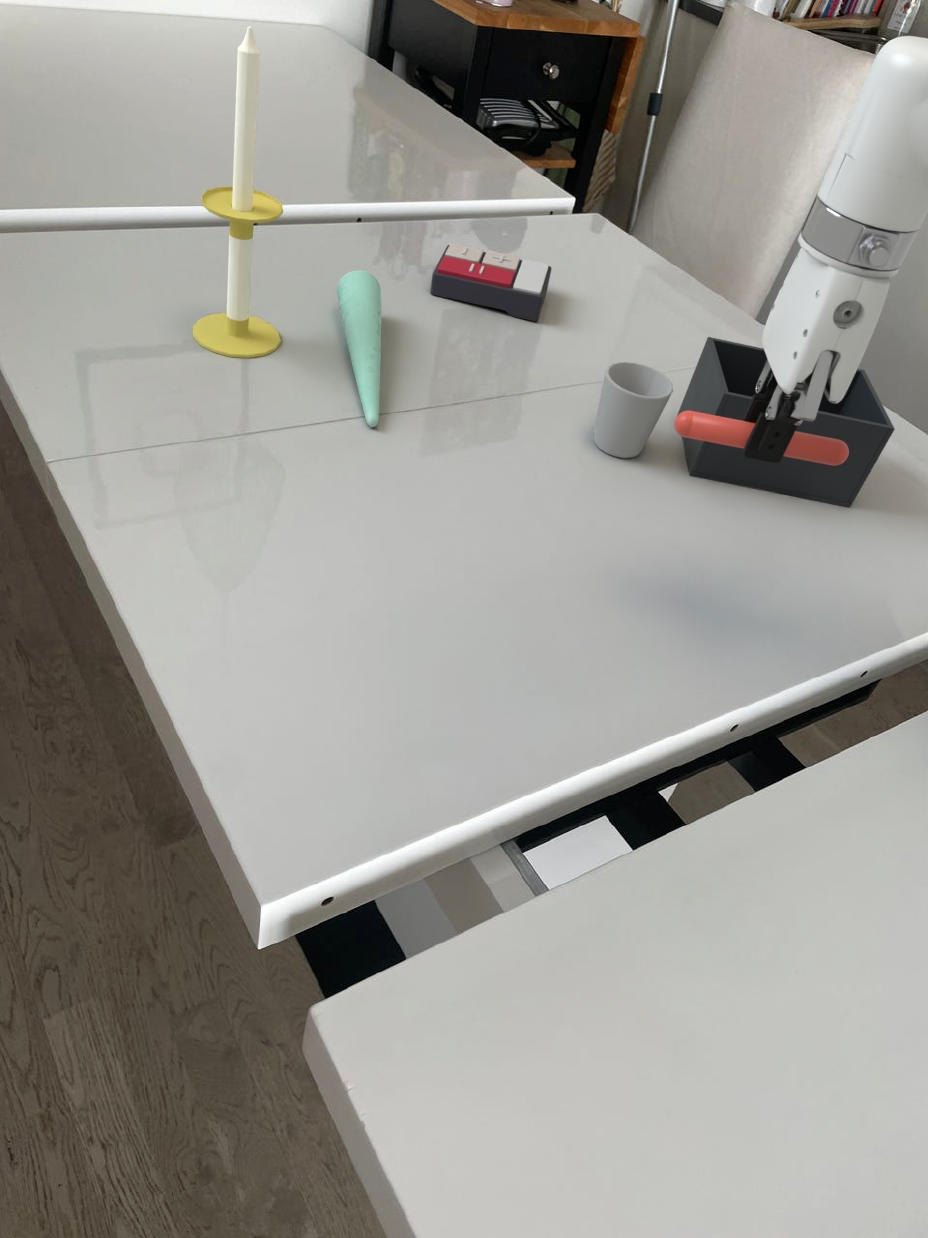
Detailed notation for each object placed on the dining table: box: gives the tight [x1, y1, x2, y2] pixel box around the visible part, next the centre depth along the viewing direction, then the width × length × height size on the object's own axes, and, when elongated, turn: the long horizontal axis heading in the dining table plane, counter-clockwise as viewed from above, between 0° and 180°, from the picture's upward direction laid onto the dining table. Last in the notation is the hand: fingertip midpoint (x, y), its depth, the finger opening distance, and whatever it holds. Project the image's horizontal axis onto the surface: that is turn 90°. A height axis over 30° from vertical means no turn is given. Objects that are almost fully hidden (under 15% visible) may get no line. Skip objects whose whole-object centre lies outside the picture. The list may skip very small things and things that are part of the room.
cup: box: [592, 361, 674, 459], centre depth 111 cm, size 8×10×8 cm
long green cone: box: [336, 269, 382, 428], centre depth 113 cm, size 5×6×27 cm
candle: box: [192, 19, 284, 359], centre depth 103 cm, size 10×10×32 cm
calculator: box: [429, 242, 552, 322], centre depth 134 cm, size 11×4×15 cm
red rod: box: [673, 411, 849, 466], centre depth 83 cm, size 15×2×2 cm, turn 88°
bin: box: [676, 336, 896, 508], centre depth 113 cm, size 19×13×11 cm
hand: (757, 447), depth 83 cm, fingers closed on red rod, 2 cm apart
